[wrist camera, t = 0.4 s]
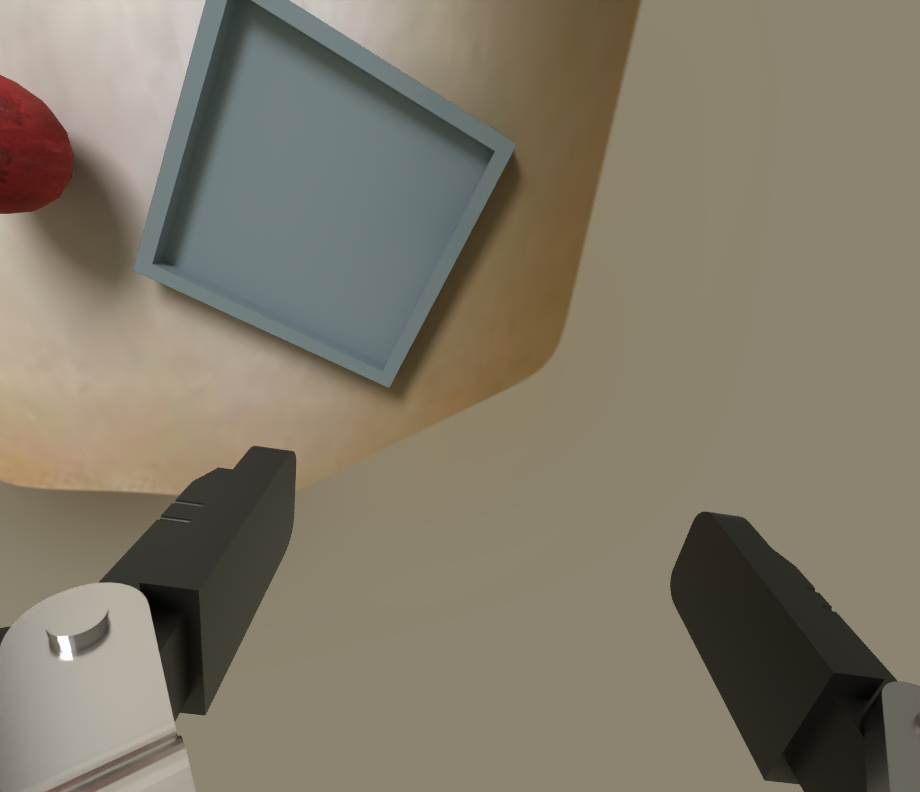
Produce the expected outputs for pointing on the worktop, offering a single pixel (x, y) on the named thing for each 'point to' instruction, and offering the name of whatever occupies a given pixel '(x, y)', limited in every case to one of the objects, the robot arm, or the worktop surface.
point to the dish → (314, 186)
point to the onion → (30, 151)
